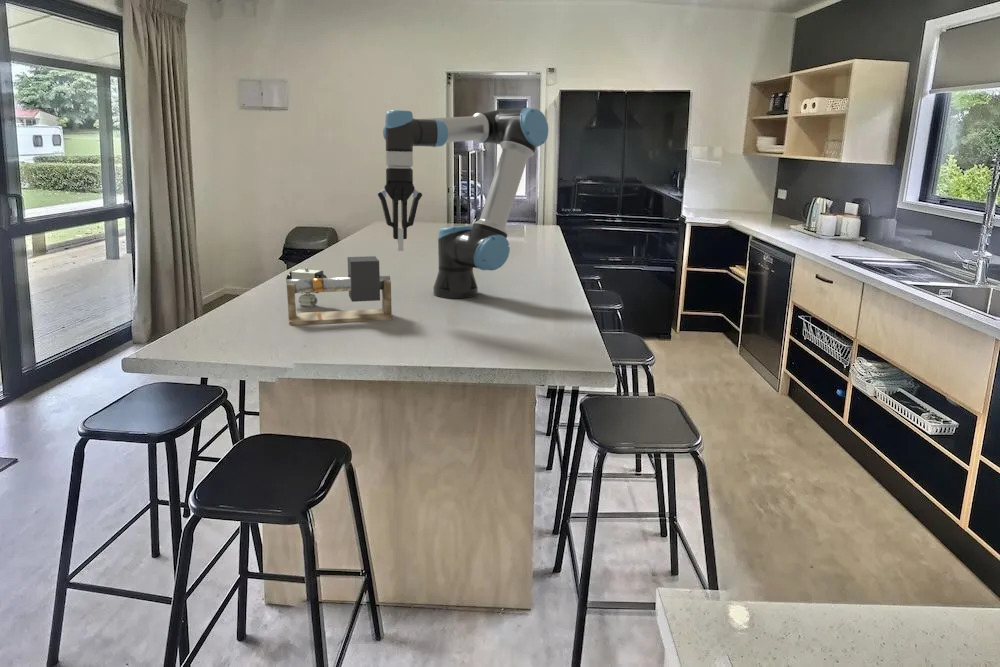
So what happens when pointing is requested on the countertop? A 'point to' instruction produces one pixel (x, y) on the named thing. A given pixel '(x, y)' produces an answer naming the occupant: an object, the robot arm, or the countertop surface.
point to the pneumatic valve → (307, 298)
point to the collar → (364, 278)
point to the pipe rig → (340, 315)
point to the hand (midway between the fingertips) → (400, 250)
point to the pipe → (326, 284)
